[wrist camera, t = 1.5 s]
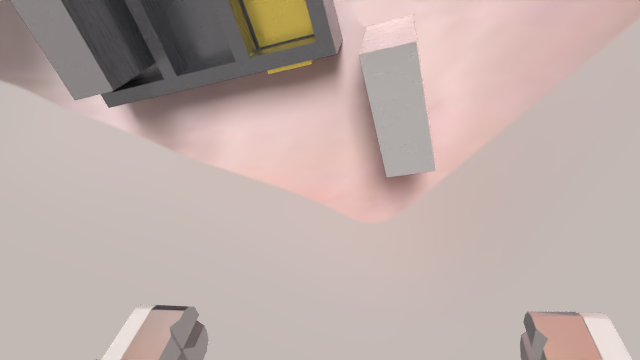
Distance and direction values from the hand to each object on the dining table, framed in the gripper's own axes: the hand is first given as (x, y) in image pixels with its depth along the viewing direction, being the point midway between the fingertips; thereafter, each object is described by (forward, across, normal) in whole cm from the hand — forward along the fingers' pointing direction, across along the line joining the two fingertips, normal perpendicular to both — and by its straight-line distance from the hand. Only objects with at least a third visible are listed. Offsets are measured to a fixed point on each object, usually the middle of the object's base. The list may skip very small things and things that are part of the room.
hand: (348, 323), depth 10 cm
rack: (+21, +11, -7) cm, 25 cm away
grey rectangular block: (+21, -2, +1) cm, 21 cm away
